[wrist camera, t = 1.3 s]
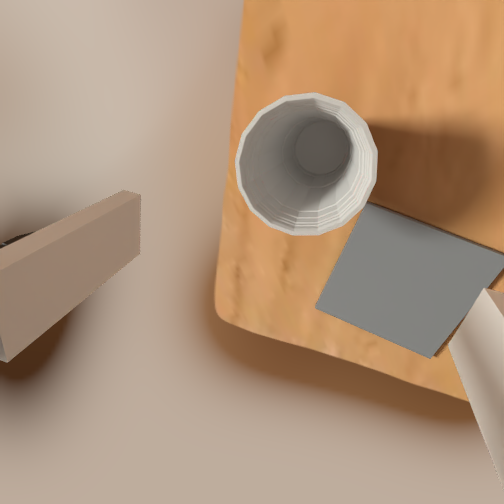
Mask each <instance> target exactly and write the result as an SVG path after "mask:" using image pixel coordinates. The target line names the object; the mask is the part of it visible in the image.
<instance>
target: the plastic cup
mask: <svg viewBox="0 0 504 504" xmlns="http://www.w3.org/2000/svg"><path fill="white" fill-rule="evenodd" d="M377 157H378V151H377V148H376V146H375V143H374V141H373V138H372V135H371V133H370V130H369V128H368V125H367V123H366V122H365V121H364V120H363V119H362V118H361V117H360V116H359V115H358V114H357V113H355V112H354V111H353V110H352V109H351V108H350V107H349V106H348V105H347V104H346V103H345V102H343V101H340V100H337V99H334V98H331V97H328V96H325V95H322V94H319V93H316V92H314V93H305V94H297V95H288V96H284V97H282V98H280V99H279V100H277V101H275V102H274V103H272V104H270V105H268V106H267V107H265V108H263V109H262V110H260V111H259V112H258V113H257V114H256V116H255V117H254V118H253V120H252V121H251V123H250V124H249V125H248V127H247V128H246V129H245V131H244V132H243V133H242V135H241V139H240V143H239V147H238V151H237V155H236V159H235V166H236V174H237V183H238V188H239V190H240V192H241V194H242V196H243V198H244V199H245V201H246V203H247V205H248V207H249V209H250V210H251V211H252V212H253V213H254V214H255V215H256V216H258V217H259V218H260V219H261V220H262V221H263V222H265V223H266V224H267V225H268V226H269V227H272V228H274V229H277V230H280V231H283V232H285V233H288V234H291V235H320V234H323V233H326V232H328V231H331V230H333V229H336V228H338V227H341V226H344V225H345V224H346V223H347V222H348V221H349V220H350V219H351V218H352V217H353V216H354V215H356V214H357V213H358V212H359V211H360V210H361V209H362V208H363V207H364V206H365V204H366V201H367V199H368V197H369V195H370V193H371V191H372V189H373V187H374V185H375V183H376V178H377Z"/></svg>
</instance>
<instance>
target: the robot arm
mask: <svg viewBox="0 0 504 504" xmlns="http://www.w3.org/2000/svg"><path fill="white" fill-rule="evenodd" d="M140 205H141V195H140V194H136V193H133V192H129V191H125V190H123V191H121V192H118V193H116V194H114V195H112V196H110V197H108V198H106V199H104V200H102V201H100V202H97V203H95V204H93V205H91V206H89V207H87V208H85V209H83V210H81V211H78V212H76V213H74V214H72V215H70V216H68V217H66V218H64V219H62V220H60V221H58V222H55V223H54V224H51V225H49V226H47V227H45V228H43V229H41V230H39V231H37V232H32V233H28V234H24V235H20V236H16V237H15V238H12V239H10V240H8V241H6V242H4V243H2V245H0V360H2V361H5V362H9V361H10V360H11V359H12V358H13V357H15V356H16V355H17V354H18V353H20V352H21V351H22V350H23V349H24V348H26V347H27V346H28V345H29V344H30V343H32V342H33V341H34V340H35V339H37V338H38V337H39V336H40V335H41V334H43V333H44V332H45V331H46V330H47V329H48V328H50V327H51V326H52V325H54V324H55V323H56V322H57V321H59V320H60V319H61V318H62V317H63V316H65V315H66V314H67V313H68V312H69V311H71V310H72V309H73V308H74V307H75V306H77V305H78V304H79V303H80V302H81V301H83V300H84V299H85V298H86V297H88V296H89V295H90V294H91V293H93V292H94V291H95V290H96V289H97V288H98V287H100V286H101V285H102V284H103V283H105V282H106V281H107V280H108V279H110V278H111V277H112V276H113V275H114V274H116V273H117V272H118V271H119V270H121V269H122V268H123V267H124V266H125V265H127V264H128V263H129V262H130V261H132V260H133V259H134V258H135V257H136V256H137V255H139V254H140V209H141V208H140V207H141V206H140ZM448 347H449V350H450V352H451V355H452V357H453V360H454V363H455V365H456V368H457V370H458V373H459V376H460V378H461V381H462V383H463V386H464V389H465V391H466V394H467V396H468V399H469V402H470V404H471V407H472V409H473V412H474V415H475V417H476V420H477V422H478V425H479V428H480V430H481V433H482V435H483V438H484V441H485V443H486V446H487V448H488V451H489V454H490V456H491V459H492V461H493V464H494V467H495V469H496V472H497V475H498V477H499V480H500V482H501V485H502V488H503V490H504V293H502V292H498V291H495V290H491V289H487V288H483V290H482V292H481V293H480V295H479V296H478V298H477V300H476V301H475V303H474V304H473V306H472V307H471V309H470V311H469V312H468V314H467V315H466V317H465V319H464V320H463V322H462V323H461V325H460V327H459V328H458V330H457V331H456V333H455V334H454V336H453V338H452V339H451V341H450V342H449V344H448Z"/></svg>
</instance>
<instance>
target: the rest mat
mask: <svg viewBox="0 0 504 504" xmlns="http://www.w3.org/2000/svg"><path fill="white" fill-rule="evenodd" d="M503 268H504V253H501V252H499V251H496V250H493V249H491V248H488V247H485V246H483V245H480V244H478V243H475V242H472V241H470V240H467V239H465V238H462V237H459V236H457V235H454V234H451V233H449V232H446V231H444V230H441V229H438V228H436V227H433V226H431V225H428V224H425V223H423V222H420V221H418V220H415V219H412V218H410V217H407V216H404V215H402V214H399V213H397V212H394V211H391V210H389V209H386V208H384V207H381V206H378V205H376V204H373V203H370V202H368V201H367V202H366V204H365V206H364V208H363V210H362V212H361V214H360V216H359V218H358V220H357V222H356V224H355V226H354V228H353V230H352V232H351V234H350V237H349V239H348V241H347V243H346V245H345V247H344V249H343V251H342V253H341V255H340V257H339V259H338V261H337V263H336V265H335V267H334V269H333V271H332V273H331V275H330V277H329V279H328V281H327V283H326V285H325V287H324V289H323V291H322V293H321V295H320V297H319V299H318V301H317V303H316V306H315V308H316V309H318V310H321V311H323V312H325V313H327V314H330V315H332V316H334V317H336V318H339V319H341V320H343V321H345V322H348V323H350V324H352V325H355V326H357V327H359V328H361V329H364V330H366V331H368V332H370V333H373V334H375V335H377V336H379V337H382V338H384V339H386V340H389V341H391V342H393V343H395V344H398V345H400V346H402V347H404V348H407V349H409V350H411V351H413V352H416V353H418V354H420V355H423V356H425V357H427V358H429V359H431V357H432V356H433V355H434V354H435V352H436V351H437V350H438V349H439V347H440V346H441V345H442V344H443V342H444V341H445V340H446V339H447V337H448V336H449V335H450V334H451V333H452V331H453V330H454V329H455V328H456V326H457V325H458V324H459V323H460V321H461V320H462V319H463V318H464V316H465V315H466V314H467V313H468V311H469V310H470V309H471V307H472V306H473V304H474V303H475V301H476V300H477V298H478V296H479V295H480V293H481V292H482V290H483V288H488V287H489V285H490V284H491V283H492V282H493V280H494V279H495V278H496V277H497V275H498V274H499V273H500V272H501V270H502V269H503Z"/></svg>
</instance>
